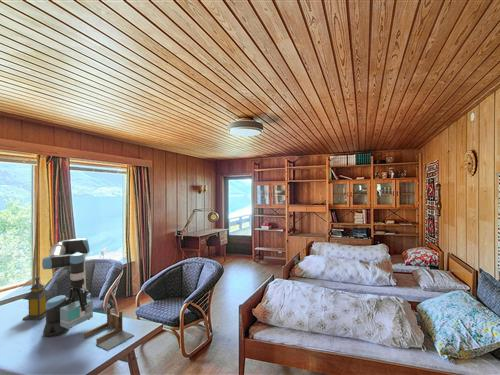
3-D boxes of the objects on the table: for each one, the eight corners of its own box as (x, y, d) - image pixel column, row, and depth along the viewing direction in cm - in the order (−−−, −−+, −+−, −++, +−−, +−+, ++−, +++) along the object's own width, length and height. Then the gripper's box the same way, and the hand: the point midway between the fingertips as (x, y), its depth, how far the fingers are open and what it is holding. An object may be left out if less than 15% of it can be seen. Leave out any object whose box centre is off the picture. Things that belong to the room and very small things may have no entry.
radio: (68, 330, 166) (68, 298, 165) (60, 327, 170) (59, 295, 169) (94, 319, 180) (93, 288, 180) (85, 315, 184) (85, 286, 184)
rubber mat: (96, 345, 178) (96, 344, 178) (122, 331, 194) (122, 330, 194) (107, 351, 172) (107, 350, 172) (133, 335, 189) (133, 335, 189)
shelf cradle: (84, 337, 187) (83, 316, 186) (109, 325, 202) (108, 306, 202) (97, 343, 179) (97, 322, 179) (122, 330, 195) (122, 311, 195)
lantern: (40, 320, 209) (39, 280, 208) (21, 320, 210) (20, 280, 209) (53, 311, 223) (52, 274, 223) (36, 311, 224) (35, 274, 223)
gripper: (61, 277, 177) (62, 312, 177) (81, 283, 166) (81, 321, 167) (73, 274, 183) (74, 307, 184) (93, 279, 173) (93, 315, 174)
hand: (77, 314), depth 175 cm, fingers closed on radio, 9 cm apart
